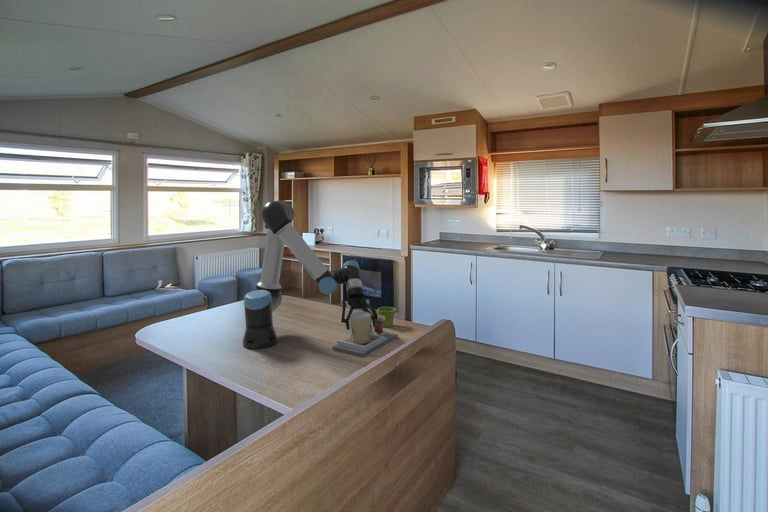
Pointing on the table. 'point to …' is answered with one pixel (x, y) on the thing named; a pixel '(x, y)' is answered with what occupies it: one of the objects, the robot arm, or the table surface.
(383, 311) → the plant pot
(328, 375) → the table surface
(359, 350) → the gray board
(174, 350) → the table surface
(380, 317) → the wooden bobbin
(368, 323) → the coffee cup
